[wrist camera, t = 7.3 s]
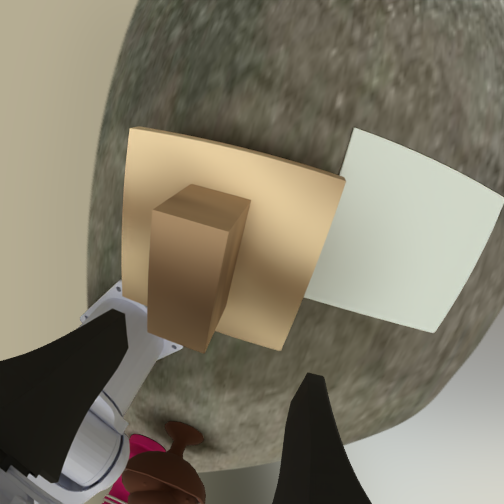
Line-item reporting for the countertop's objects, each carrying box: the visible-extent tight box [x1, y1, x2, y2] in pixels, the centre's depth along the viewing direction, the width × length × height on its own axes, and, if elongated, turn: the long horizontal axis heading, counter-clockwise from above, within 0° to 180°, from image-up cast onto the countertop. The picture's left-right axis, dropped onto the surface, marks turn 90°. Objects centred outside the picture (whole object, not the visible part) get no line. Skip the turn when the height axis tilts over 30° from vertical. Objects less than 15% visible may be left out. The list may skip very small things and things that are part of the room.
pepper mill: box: [102, 434, 166, 504], centre depth 31 cm, size 7×7×20 cm
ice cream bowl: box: [121, 421, 206, 504], centre depth 28 cm, size 11×11×15 cm
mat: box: [304, 127, 504, 333], centre depth 17 cm, size 12×12×1 cm
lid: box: [122, 127, 346, 353], centre depth 13 cm, size 10×10×4 cm
